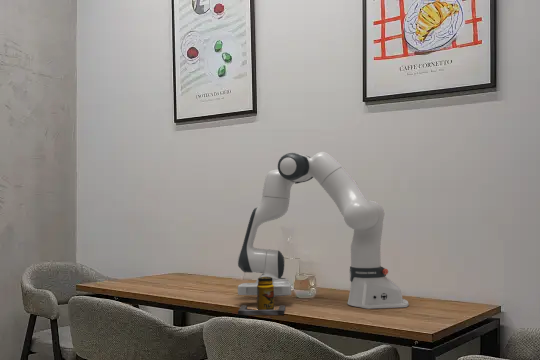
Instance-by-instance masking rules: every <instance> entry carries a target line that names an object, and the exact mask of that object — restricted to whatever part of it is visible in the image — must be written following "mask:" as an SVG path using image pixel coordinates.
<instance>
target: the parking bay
mask: <svg viewBox="0 0 540 360" xmlns="http://www.w3.org/2000/svg"><path fill="white" fill-rule="evenodd" d="M284 311H286V305H283V304H282V305H281V304H280V305H279V306H278V309H276V310H253V309H248V305H243V304H242V305H240V307H239V309H238V310H237V316H284V315H285V312H284Z"/></svg>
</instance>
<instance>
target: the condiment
mask: <svg viewBox="0 0 540 360" xmlns="http://www.w3.org/2000/svg"><path fill="white" fill-rule="evenodd" d="M257 280H258V285H257V295H256V296H257V297H256V303H257V304H256V305H257V307H256V308H257V309H258V310H274V308H275V297H274V286H273V282H272V280H273V279H272V277H260V276H259V277H258V278H257Z"/></svg>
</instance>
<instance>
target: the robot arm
mask: <svg viewBox="0 0 540 360" xmlns="http://www.w3.org/2000/svg"><path fill="white" fill-rule="evenodd" d="M313 179H314V180H316V181H317V183H319V185H320V186H321V188H323V191H325V192H326V193H327V194H328V196H329V197H330V198H331V199H332V201H333V202H334V203H335V205H336V207H337V208H338V210H339V212H340V214H341V215H342V216H343V220H344V222H345V224H346V226H348V227H349V228H350V229H352V230H353V236H352V239H351V240H352V241H351V244H350V266H349V281H350V287H349V294H348V300H347V305H349V306H351V307H357V308H362V309H370V310H372V309H391V308H392V309H394V308H395V309H397V308H407V307H409V301H408V300H406V299H405V298H403V293H402V290H401V288H400V286H399V285H397V284H396V283H395V282H393V280H391V279H390V278H388V277H387V275H388V274H389V270H388V269H387V268H386V267H383V266H382V265H381V264H382V263H381V259H382V258H381V241H382V234H383V227H384V226H383V225H384V223H383V222H384V219H385V218H384V217H385V210H384V208H383V206H382V205H381V204H380V203H379V202H377V201H375V200H370V199H366V197H365V196H364V194H363V193H362V191H361V190H360V188H359V185H358V183H357V182H356V181H355V180H354V178H353V177H352V176H351V175H350V173H349V172H348V171H347V170H346V169H345V168H344V167H343V165H342V164H341V163H340V162H339V161H338V160H336V158H335V157H333V156H332V155H331V154H329V153H328V152H326V151H319V152H316V153H315V154H314V155H313V156H308V155H305V154H303V153H296V152H290V153H286V154H283V155H282V156H281V157H280V158H279V160H278V162H277V169H272V170H269V171H268V172H267V173H266V176H265V179H264V183H263V189H262V194H261V195H262V197H261V201H260V203H259V205H258V206H257V207H255V208H254V209H253V210H252V212H251V215H250V218H249V221H248V225H247V229H246V232H245V235H244V239H243V243H242V246H241V250H240V252H239V254H238V257H237V266H238V268H239V269H240V270H241V271H242V272H243V273H249V274H250V273H258V274H260V275H259V277H272V279H273V280H272V282H273V286H274V298H275V297H285V296H292V284H291V282H290V281H289V278H286V277H283V276H284V272H285V257H284V254H283V253H282V252H281V251H280V250H278V249H267V248H266V249H265V248H256V247H254V242H255V239H256V236H257V232H258V229H259V228H260V226H261V225H263V224H265V223H267V222H268V223H269V222H271V221H274V220H278V219H280V218H282V217H283V216H285V215H286V213H287V212H288V211H289V206H290V200H291V198H290V197H291V189H292V187H293V185H294V184H301V183H305V182H308V181H310V180H313ZM257 285H258V279H256V281H255V282H244V283H240V284H239V285H237V295H238V296H257Z"/></svg>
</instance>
